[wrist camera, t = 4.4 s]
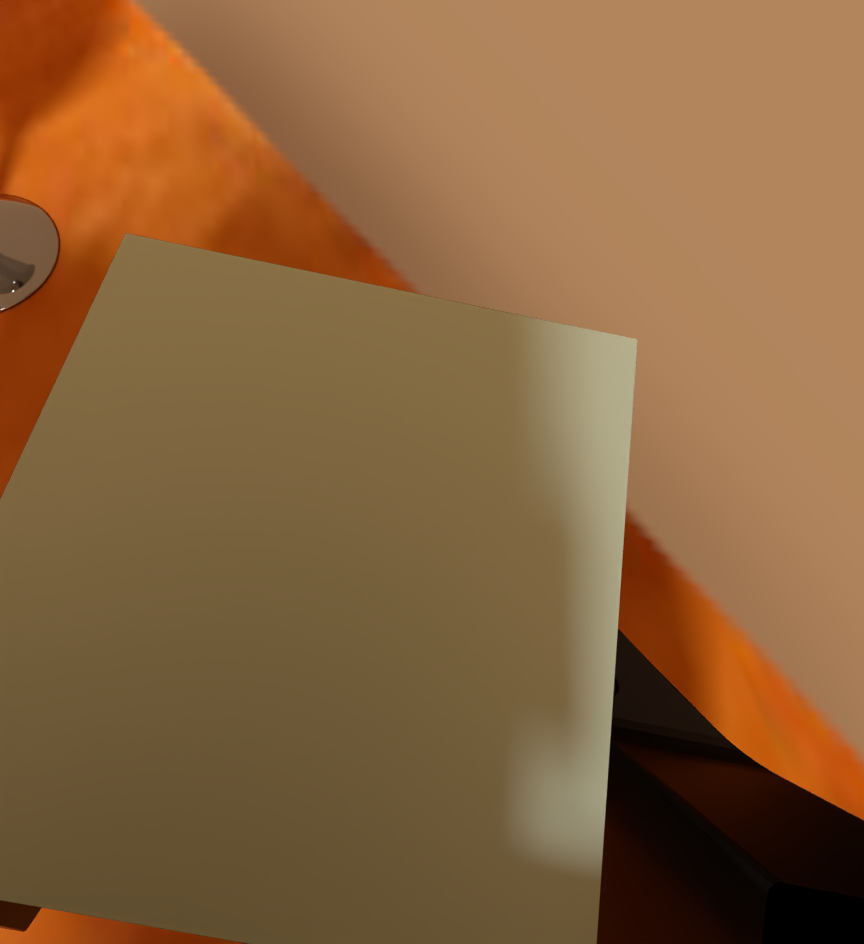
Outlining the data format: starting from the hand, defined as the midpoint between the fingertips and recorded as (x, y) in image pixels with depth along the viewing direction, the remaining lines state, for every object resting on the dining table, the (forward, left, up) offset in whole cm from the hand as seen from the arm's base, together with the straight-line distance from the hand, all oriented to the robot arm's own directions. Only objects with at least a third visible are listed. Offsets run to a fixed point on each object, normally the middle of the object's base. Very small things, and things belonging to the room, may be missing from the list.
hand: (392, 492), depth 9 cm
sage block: (-1, -1, -7) cm, 7 cm away
